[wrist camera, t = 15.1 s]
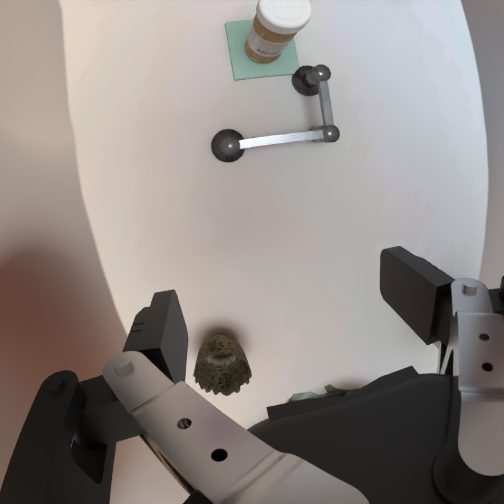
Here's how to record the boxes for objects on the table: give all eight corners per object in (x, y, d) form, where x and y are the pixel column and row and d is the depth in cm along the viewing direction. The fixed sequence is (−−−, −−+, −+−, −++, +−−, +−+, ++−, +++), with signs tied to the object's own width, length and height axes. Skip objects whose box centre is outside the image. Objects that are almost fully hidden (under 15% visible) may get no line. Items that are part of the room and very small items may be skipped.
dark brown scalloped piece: (217, 311, 43) (219, 345, 36) (255, 338, 46) (263, 373, 38) (185, 343, 45) (182, 379, 37) (223, 367, 47) (225, 403, 40)
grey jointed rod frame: (320, 66, 33) (335, 56, 28) (332, 148, 37) (349, 149, 32) (200, 78, 33) (198, 68, 27) (214, 164, 37) (214, 168, 31)
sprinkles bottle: (286, 41, 31) (321, -1, 19) (271, 70, 33) (301, 36, 20) (252, 26, 30) (272, -24, 18) (237, 55, 32) (249, 13, 19)
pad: (288, 19, 31) (289, 17, 30) (298, 74, 34) (300, 73, 33) (225, 24, 30) (225, 22, 30) (234, 80, 33) (234, 79, 33)
